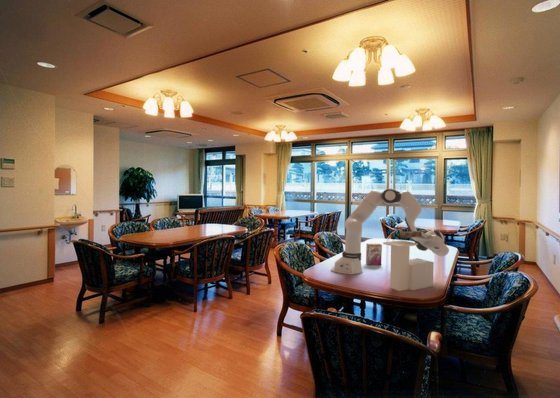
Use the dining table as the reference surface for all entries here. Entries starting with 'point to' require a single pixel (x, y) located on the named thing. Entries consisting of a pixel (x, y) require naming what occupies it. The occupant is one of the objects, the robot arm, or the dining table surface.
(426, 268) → the stepped stand
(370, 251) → the candy bar box
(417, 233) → the walnut bar
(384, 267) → the dining table surface
